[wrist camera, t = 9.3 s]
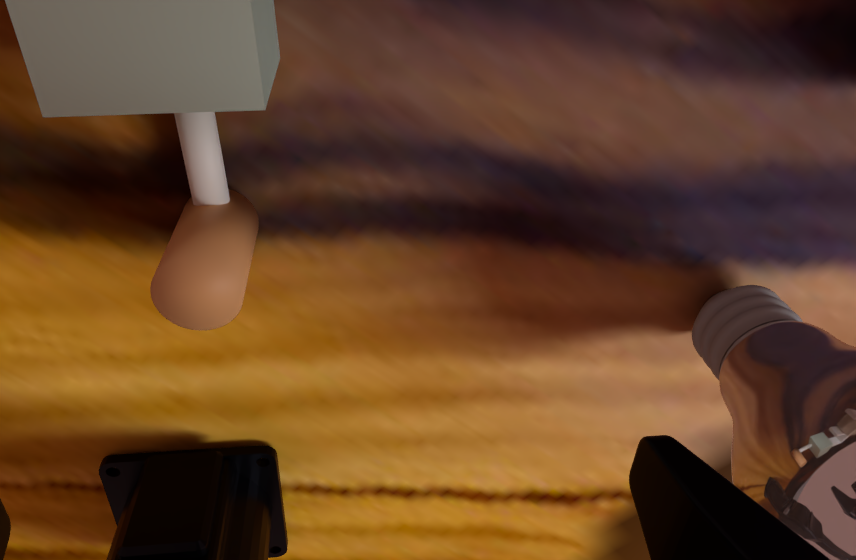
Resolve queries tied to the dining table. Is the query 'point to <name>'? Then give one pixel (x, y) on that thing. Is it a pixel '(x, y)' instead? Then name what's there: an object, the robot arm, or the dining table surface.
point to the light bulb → (786, 412)
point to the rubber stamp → (167, 93)
